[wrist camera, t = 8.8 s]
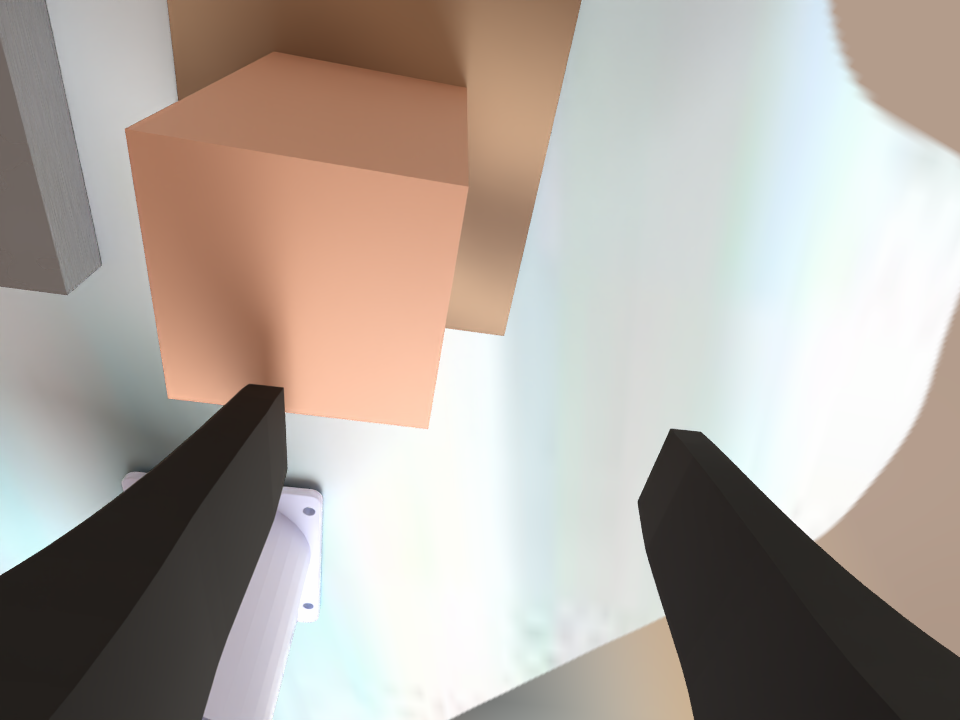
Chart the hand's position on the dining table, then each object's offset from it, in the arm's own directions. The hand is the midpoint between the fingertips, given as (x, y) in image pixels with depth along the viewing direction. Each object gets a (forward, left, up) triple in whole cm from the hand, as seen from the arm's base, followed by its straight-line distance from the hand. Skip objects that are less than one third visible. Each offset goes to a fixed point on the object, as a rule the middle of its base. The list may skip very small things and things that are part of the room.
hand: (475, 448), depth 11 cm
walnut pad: (+2, +3, -9) cm, 10 cm away
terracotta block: (+2, +3, -9) cm, 10 cm away
